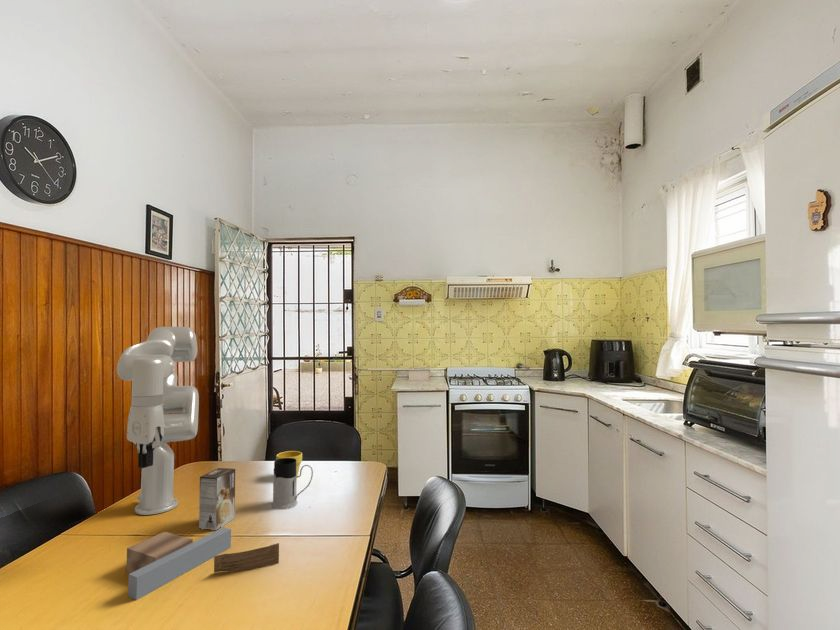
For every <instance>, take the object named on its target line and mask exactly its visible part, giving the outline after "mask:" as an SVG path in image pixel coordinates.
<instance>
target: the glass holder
mask: <svg viewBox="0 0 840 630" xmlns="http://www.w3.org/2000/svg"><path fill="white" fill-rule="evenodd" d="M273 464H274V465H273V483H272V485H273V487H272V492H273V493H272V496H273V497H272V503H271V508H273V509H275V510H288V509H292V508H294V507H296V506H297V505H298V501H297V499H298V496H299V495H300V494H302V493H303V492H304V491H305V490H306V489H307V488H308V487H309V486H310V484H311V483H312V481H313V477H314V476H313V475H314V470H313V467H312V466H311V465H309V464H305V465H302V467H300V469H299V475H298V476H297V474H296V459H294V458H282V459H278V460H276V459H275V460H274V462H273ZM304 467H309V468H310V471H311V474H310V475H311V476H310V480H309V482H308V483H307V485H306V486H305V487H304V488H303V489H302V490H301V491H299V492H298V493H297V484H298V483H297V482H298V481H297V479H298V478H300V477H301V476H302V471H303V468H304ZM291 507H292V508H291ZM287 508H288V509H287Z"/></svg>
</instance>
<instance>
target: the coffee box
mask: <svg viewBox="0 0 840 630" xmlns="http://www.w3.org/2000/svg"><path fill="white" fill-rule="evenodd" d="M198 504H199V505H198V506H199V508H198V509H199V511H198V512H199V513H198V514H199V515H198V529H199V528H201V529H200V530H204V529H211V530H210V531H214V530H217V529H218V530H219V528H220V527H221V528H223V527H225V525H226V524H228V523H230V522H231V521H232V520H234V519H235V517H236V516H235V515H236V514H235V513H236V468H227V467H217V468H216V469H213V470H211V471H209V472H207V473H205V474H203V475H200V476H199V503H198ZM221 528H220V529H221Z"/></svg>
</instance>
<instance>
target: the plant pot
mask: <svg viewBox="0 0 840 630" xmlns="http://www.w3.org/2000/svg"><path fill="white" fill-rule="evenodd" d="M275 458H276V459H275V461H276V460H278V459H282V458H294V459H296V474H297V476H299V473H300V468H301V463H302V462H303V452H301V451H300V450H299V451H298V450H287V451H283V452H279V453H278V454H276V457H275Z"/></svg>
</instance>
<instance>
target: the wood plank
mask: <svg viewBox="0 0 840 630" xmlns="http://www.w3.org/2000/svg"><path fill="white" fill-rule="evenodd" d="M279 561H280V543H279V542H278V543H274V544H270V545H268V546H264V547H259V548H255V549H250V550H246V551H240V552H231V553H222V554H218V555H216V556H214V557H213V563H214V564H213V573H219V572H220V573H221V572H223V573H224V572H227V573H230V572H231V573H232V572H237V571H238V572H239V571H248V570H253V569H258V568H262V567H268V566H272V565H276V564H279V563H280V562H279Z"/></svg>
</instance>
